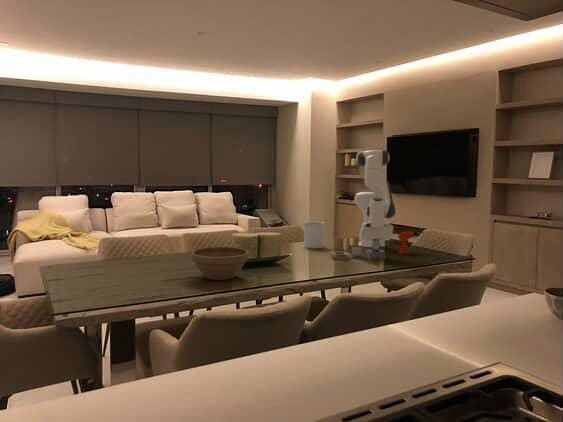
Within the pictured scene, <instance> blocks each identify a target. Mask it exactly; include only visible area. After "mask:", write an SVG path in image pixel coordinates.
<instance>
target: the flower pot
mask: <svg viewBox="0 0 563 422" xmlns="http://www.w3.org/2000/svg"><path fill="white" fill-rule="evenodd" d="M190 254H191V255H190V258H191V261H193V262H194V264H195V266H196V267H197V269H198V270H199V271H200V272H201V273H202V274H203V275H204V276H205V277H206V279H208V280H213V281H225V280H231V279H234V278H235V276H236V275H237V274H238V273H239V272H240V270H242V268H243V267H244V266H245V263H246V261H248V260H249V257H250V256H249V250H247V249H245V248H240V247H235V246H211V247H202V248H198V249H197V248H196V249H194V250H192V251H191V253H190Z"/></svg>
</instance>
